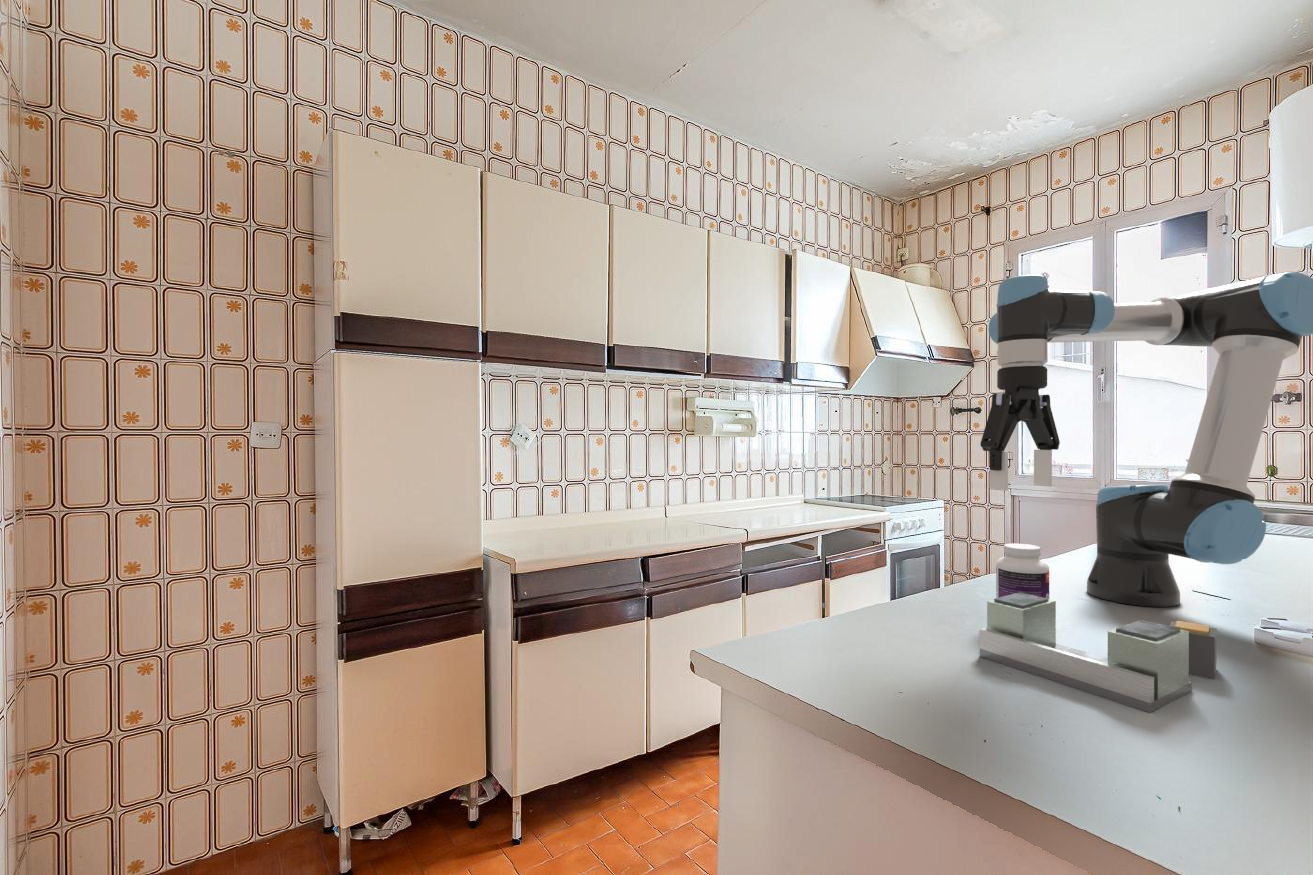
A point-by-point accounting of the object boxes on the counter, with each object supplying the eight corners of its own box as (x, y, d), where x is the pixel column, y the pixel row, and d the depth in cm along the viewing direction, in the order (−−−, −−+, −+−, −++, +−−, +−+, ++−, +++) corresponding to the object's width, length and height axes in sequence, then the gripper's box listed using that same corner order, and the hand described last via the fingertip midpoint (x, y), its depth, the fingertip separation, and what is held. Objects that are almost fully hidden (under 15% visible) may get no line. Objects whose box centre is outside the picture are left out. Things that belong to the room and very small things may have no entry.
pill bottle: (1058, 636, 103) (1058, 551, 102) (1005, 634, 104) (1005, 550, 104) (1038, 621, 110) (1038, 542, 110) (989, 619, 112) (989, 541, 112)
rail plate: (1023, 641, 100) (1023, 589, 100) (1191, 690, 81) (1191, 626, 81) (979, 656, 94) (979, 600, 94) (1150, 712, 75) (1150, 643, 75)
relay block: (1171, 660, 92) (1171, 618, 92) (1216, 669, 88) (1216, 625, 88) (1167, 670, 88) (1167, 626, 88) (1214, 680, 85) (1214, 634, 85)
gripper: (1038, 371, 116) (1038, 482, 116) (957, 365, 104) (957, 489, 104) (1082, 367, 110) (1081, 485, 110) (1001, 360, 97) (1001, 493, 97)
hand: (1021, 488), depth 107 cm, fingers open, 13 cm apart
